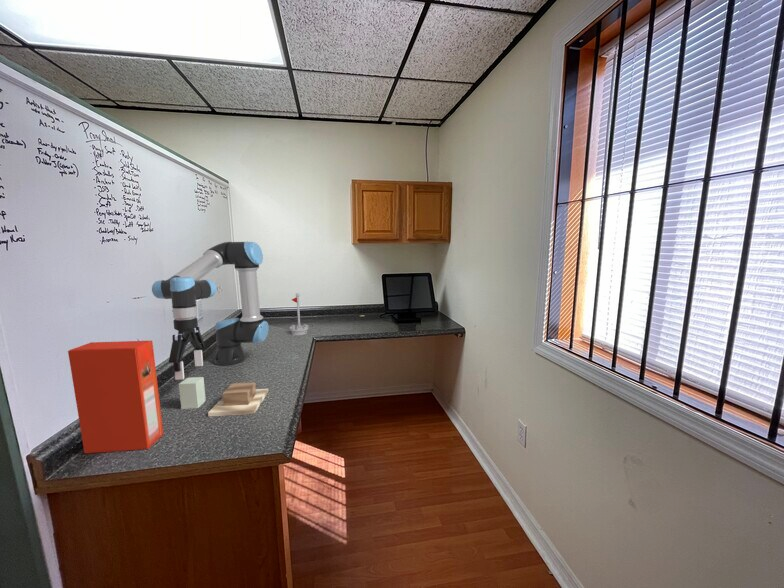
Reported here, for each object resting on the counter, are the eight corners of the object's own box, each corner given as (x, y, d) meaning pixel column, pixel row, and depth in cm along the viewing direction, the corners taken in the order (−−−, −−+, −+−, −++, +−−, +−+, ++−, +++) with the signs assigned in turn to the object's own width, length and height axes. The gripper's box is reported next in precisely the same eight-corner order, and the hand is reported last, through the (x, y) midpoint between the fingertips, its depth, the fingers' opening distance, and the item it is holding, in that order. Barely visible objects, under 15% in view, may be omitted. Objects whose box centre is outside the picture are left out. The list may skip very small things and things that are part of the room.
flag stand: (311, 331, 231) (309, 292, 227) (304, 335, 218) (302, 294, 214) (294, 330, 232) (292, 291, 228) (287, 335, 219) (285, 294, 215)
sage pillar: (189, 401, 122) (187, 377, 121) (205, 400, 123) (203, 377, 121) (181, 409, 116) (178, 384, 115) (197, 408, 117) (195, 383, 116)
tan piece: (229, 393, 128) (227, 379, 128) (268, 391, 130) (267, 377, 129) (208, 416, 111) (206, 399, 110) (254, 413, 112) (253, 397, 112)
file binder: (146, 450, 92) (134, 347, 88) (83, 454, 90) (67, 350, 86) (163, 434, 100) (152, 340, 96) (105, 438, 98) (92, 342, 94)
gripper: (192, 312, 127) (196, 361, 129) (152, 325, 102) (158, 386, 105) (211, 311, 127) (215, 360, 130) (176, 325, 103) (181, 385, 105)
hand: (190, 372), depth 117 cm, fingers open, 13 cm apart
